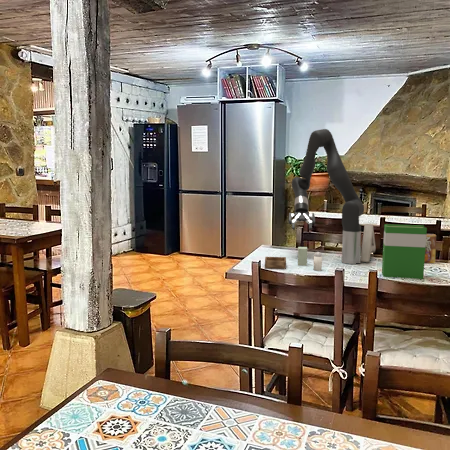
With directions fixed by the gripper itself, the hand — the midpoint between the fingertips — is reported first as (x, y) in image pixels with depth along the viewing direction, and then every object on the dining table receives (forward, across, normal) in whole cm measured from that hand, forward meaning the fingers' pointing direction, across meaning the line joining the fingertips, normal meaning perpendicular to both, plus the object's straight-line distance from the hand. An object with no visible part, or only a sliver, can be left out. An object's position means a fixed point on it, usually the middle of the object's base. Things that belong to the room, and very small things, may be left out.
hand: (301, 229), depth 245 cm
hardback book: (+32, +46, -8) cm, 57 cm away
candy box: (+10, +66, +14) cm, 68 cm away
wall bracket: (+2, +39, +22) cm, 45 cm away
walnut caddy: (+24, -14, 0) cm, 28 cm away
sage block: (+20, 0, +4) cm, 20 cm away
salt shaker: (+27, +7, -3) cm, 28 cm away
